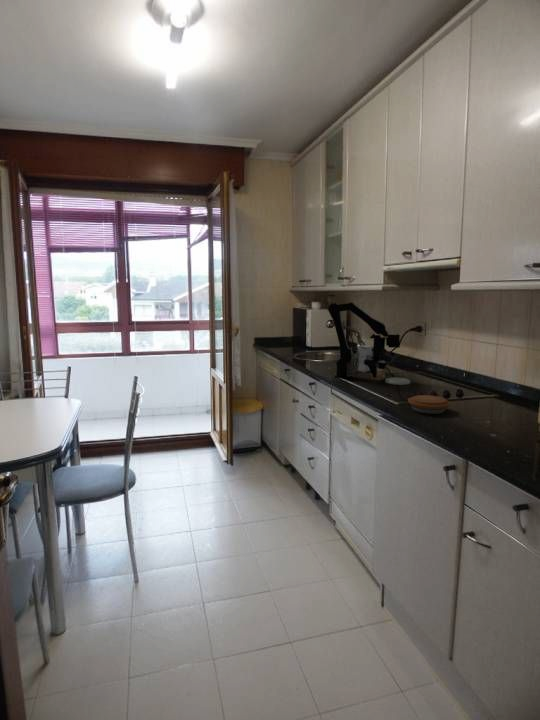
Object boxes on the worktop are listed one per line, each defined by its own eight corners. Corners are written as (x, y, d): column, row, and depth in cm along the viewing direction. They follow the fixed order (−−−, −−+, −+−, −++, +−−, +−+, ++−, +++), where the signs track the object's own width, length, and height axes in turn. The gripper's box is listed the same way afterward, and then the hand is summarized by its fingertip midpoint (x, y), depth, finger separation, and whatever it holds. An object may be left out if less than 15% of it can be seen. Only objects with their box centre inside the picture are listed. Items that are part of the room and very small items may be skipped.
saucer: (402, 385, 216) (402, 383, 216) (380, 382, 224) (380, 380, 224) (414, 382, 224) (414, 380, 224) (393, 379, 233) (393, 376, 233)
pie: (437, 404, 181) (438, 392, 180) (457, 415, 166) (458, 402, 165) (400, 405, 179) (401, 393, 179) (418, 416, 164) (418, 403, 163)
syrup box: (363, 369, 261) (363, 344, 258) (371, 370, 256) (372, 345, 254) (357, 370, 257) (358, 345, 254) (365, 372, 252) (366, 346, 250)
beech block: (379, 380, 230) (379, 370, 229) (371, 379, 233) (371, 369, 233) (384, 379, 233) (385, 369, 233) (376, 377, 237) (376, 368, 236)
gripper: (383, 350, 219) (381, 381, 221) (402, 346, 232) (401, 376, 234) (363, 348, 227) (362, 378, 229) (383, 345, 240) (382, 373, 242)
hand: (377, 376), depth 233 cm, fingers open, 6 cm apart
